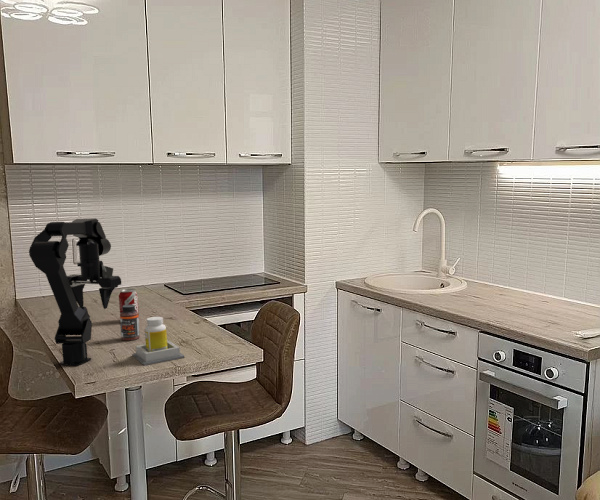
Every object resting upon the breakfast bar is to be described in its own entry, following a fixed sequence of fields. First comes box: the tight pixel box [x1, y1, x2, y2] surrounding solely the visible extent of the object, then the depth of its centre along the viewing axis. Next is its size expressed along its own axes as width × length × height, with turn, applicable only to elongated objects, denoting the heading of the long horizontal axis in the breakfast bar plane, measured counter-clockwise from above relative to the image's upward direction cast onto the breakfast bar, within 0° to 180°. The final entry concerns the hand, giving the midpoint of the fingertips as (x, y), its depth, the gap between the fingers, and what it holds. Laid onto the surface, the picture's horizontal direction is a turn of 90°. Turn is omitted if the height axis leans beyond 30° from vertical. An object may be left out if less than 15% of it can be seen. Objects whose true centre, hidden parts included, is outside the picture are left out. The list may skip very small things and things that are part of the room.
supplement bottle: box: [119, 305, 141, 342], centre depth 193 cm, size 6×6×11 cm
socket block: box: [131, 339, 185, 366], centre depth 172 cm, size 12×12×3 cm
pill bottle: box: [144, 316, 168, 352], centre depth 172 cm, size 6×6×11 cm
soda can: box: [118, 288, 140, 318], centre depth 218 cm, size 7×7×12 cm
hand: (93, 307), depth 182 cm, fingers open, 9 cm apart
